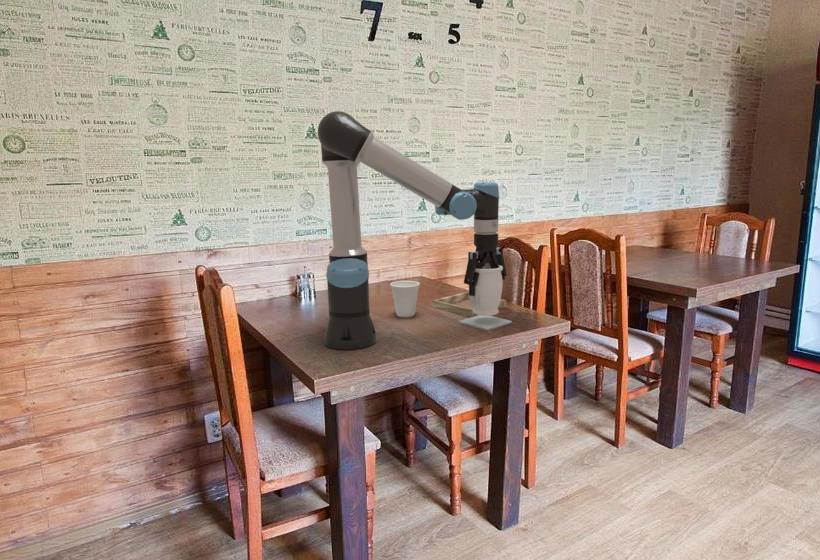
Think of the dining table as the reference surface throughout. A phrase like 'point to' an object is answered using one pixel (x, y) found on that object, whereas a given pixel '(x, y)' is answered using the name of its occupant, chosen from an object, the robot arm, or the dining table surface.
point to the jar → (488, 290)
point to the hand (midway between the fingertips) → (485, 302)
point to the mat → (485, 322)
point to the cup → (405, 297)
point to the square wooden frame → (448, 306)
